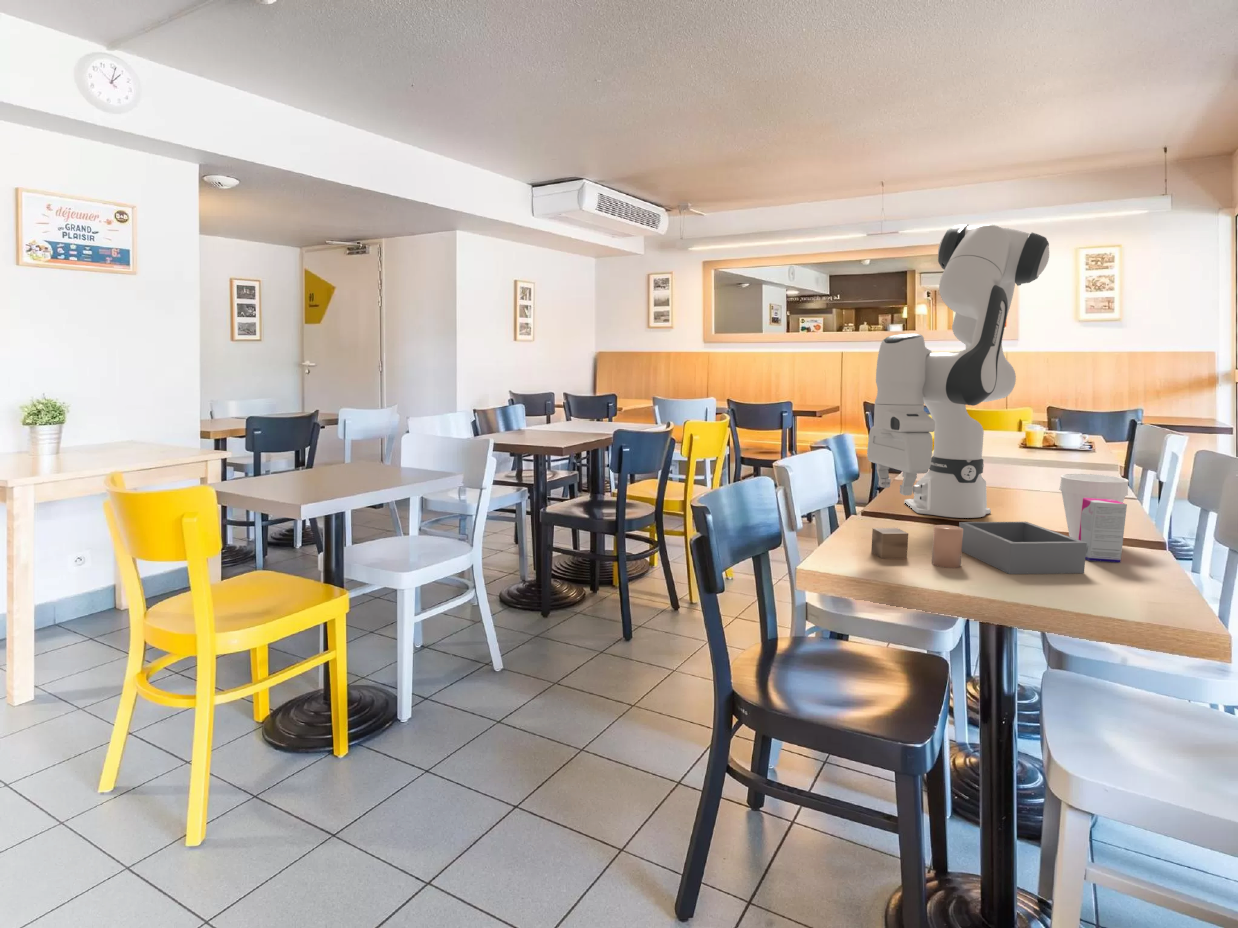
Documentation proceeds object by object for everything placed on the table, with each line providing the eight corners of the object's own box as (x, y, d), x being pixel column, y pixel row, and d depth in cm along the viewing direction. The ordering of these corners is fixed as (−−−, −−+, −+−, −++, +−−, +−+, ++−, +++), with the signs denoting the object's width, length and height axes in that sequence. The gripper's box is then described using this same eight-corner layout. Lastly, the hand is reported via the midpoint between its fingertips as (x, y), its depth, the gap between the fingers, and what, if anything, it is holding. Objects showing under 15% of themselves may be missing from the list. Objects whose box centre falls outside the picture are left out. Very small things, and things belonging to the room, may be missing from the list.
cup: (1134, 549, 151) (1141, 483, 149) (1068, 546, 153) (1074, 481, 151) (1106, 535, 163) (1112, 474, 161) (1046, 533, 165) (1051, 472, 163)
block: (871, 552, 148) (872, 527, 147) (895, 552, 148) (897, 527, 147) (881, 559, 143) (883, 533, 142) (906, 558, 143) (908, 533, 142)
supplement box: (1122, 563, 140) (1128, 503, 139) (1087, 561, 141) (1093, 502, 140) (1108, 555, 146) (1114, 498, 144) (1075, 553, 147) (1080, 497, 146)
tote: (957, 549, 150) (959, 522, 149) (1023, 548, 151) (1026, 521, 150) (1008, 573, 132) (1011, 543, 132) (1084, 573, 133) (1086, 542, 132)
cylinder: (926, 560, 141) (929, 524, 140) (952, 560, 141) (954, 524, 141) (939, 568, 136) (942, 530, 135) (965, 567, 136) (968, 530, 136)
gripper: (860, 416, 151) (857, 483, 153) (906, 423, 131) (902, 499, 133) (890, 416, 152) (887, 482, 154) (940, 422, 132) (936, 499, 133)
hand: (894, 490), depth 143 cm, fingers open, 8 cm apart
